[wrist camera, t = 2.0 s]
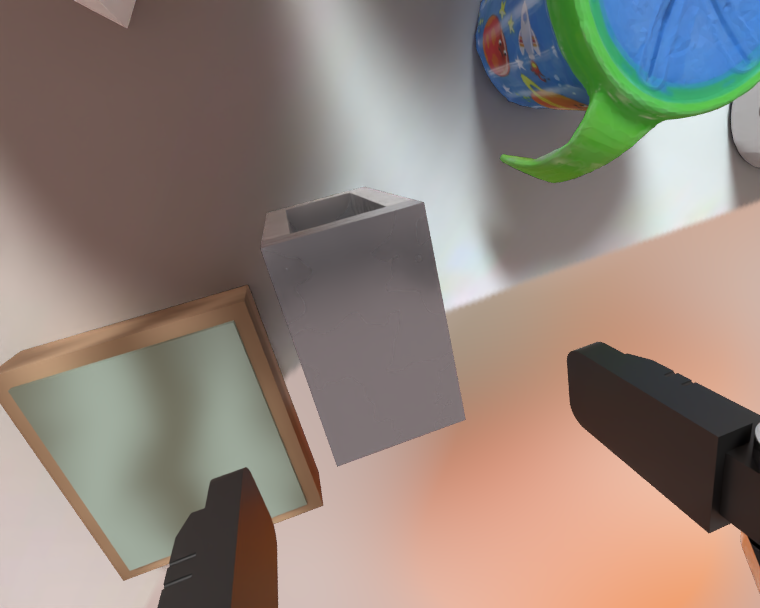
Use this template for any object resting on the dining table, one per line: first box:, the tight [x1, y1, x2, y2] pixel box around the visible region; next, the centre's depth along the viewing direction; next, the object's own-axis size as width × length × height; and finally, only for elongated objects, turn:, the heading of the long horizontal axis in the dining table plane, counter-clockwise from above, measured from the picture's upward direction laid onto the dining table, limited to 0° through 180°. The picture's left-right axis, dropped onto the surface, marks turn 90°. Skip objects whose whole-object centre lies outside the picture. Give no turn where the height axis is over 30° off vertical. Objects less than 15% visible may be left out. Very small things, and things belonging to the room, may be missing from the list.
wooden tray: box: [0, 285, 323, 581], centre depth 23 cm, size 12×14×3 cm
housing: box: [260, 187, 466, 466], centre depth 20 cm, size 6×9×10 cm, turn 14°
